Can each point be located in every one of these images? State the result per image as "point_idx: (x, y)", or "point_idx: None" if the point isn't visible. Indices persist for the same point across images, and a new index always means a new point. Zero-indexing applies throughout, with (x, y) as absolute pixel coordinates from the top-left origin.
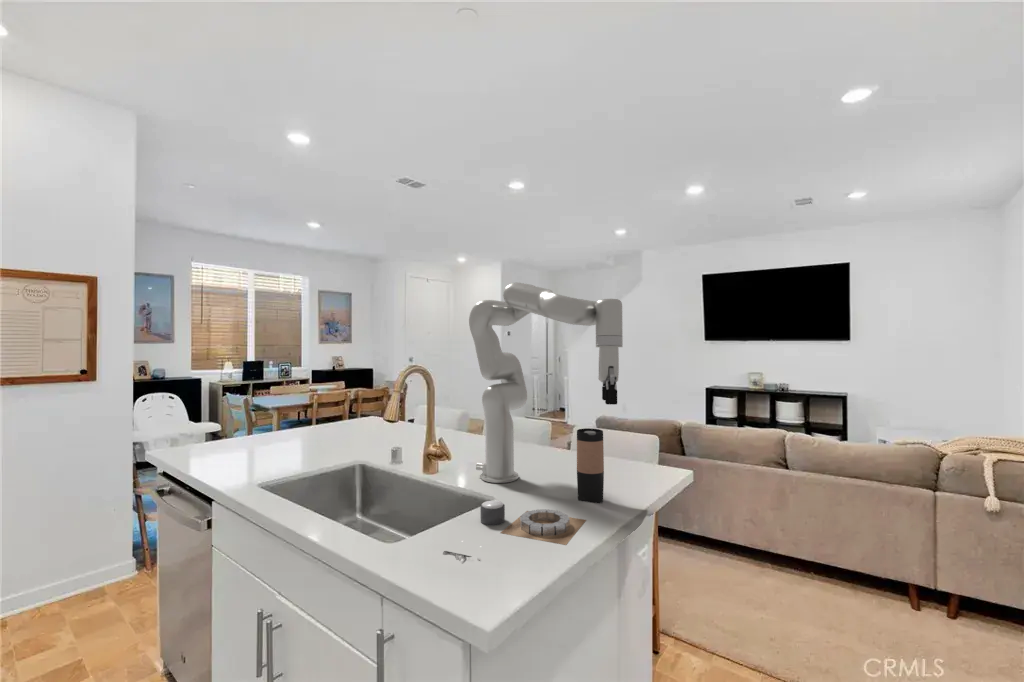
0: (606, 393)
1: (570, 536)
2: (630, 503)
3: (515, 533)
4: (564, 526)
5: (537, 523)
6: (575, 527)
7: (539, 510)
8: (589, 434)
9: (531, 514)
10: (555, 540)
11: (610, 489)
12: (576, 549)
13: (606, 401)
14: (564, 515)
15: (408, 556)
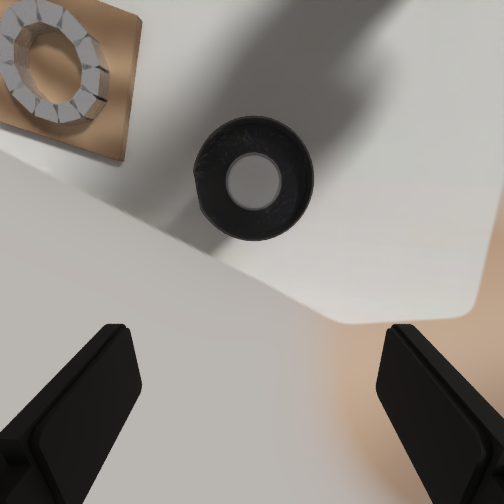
0: (40, 403)
1: (33, 128)
2: (248, 249)
3: (2, 3)
4: (34, 113)
5: (11, 49)
6: (76, 138)
7: (86, 47)
8: (226, 179)
9: (56, 27)
10: (4, 98)
11: (333, 221)
12: (16, 140)
13: (98, 340)
14: (75, 111)
15: None
